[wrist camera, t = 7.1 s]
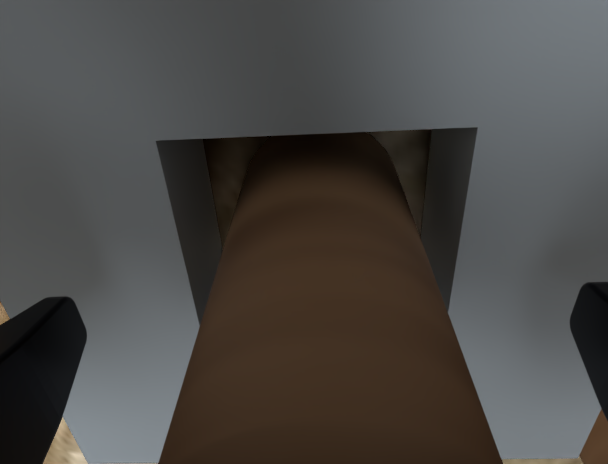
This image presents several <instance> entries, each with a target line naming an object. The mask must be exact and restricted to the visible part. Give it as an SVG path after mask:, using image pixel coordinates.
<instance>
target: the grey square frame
mask: <svg viewBox="0 0 608 464" xmlns="http://www.w3.org/2000/svg"><path fill="white" fill-rule="evenodd" d="M422 129H432V132H431V142H430V151H429V161H428V170H427V180H426V189H425V199H424V209H423V218H422V228H421V237H420V238H421V241H422V243H423V246H424V249H425V252H426V254H427V257H428V260H429V263H430V265H431V268H432V271H433V274H434V276H435V279H436V282H437V284H438V287H439V290H440V293H441V295H442V298H443V301H444V304H445V306H446V309H447V312H448V315H449V317H450V320H451V323H452V326H453V328H454V331H455V334H456V336H457V339H458V342H459V345H460V347H461V350H462V353H463V356H464V358H465V361H466V364H467V367H468V369H469V372H470V375H471V378H472V380H473V383H474V386H475V388H476V391H477V394H478V397H479V399H480V402H481V405H482V408H483V410H484V413H485V416H486V419H487V421H488V424H489V427H490V430H491V432H492V435H493V438H494V440H495V443H496V446H497V449H498V451H499V454H500V457H501V459H558V458H578V457H579V455H580V453H581V451H582V448H583V446H584V444H585V442H586V440H587V438H588V436H589V434H590V432H591V430H592V428H593V425H594V423H595V421H596V419H597V417H598V415H599V413H600V411H601V406H600V404H599V402H598V399H597V397H596V394H595V392H594V389H593V387H592V384H591V382H590V379H589V376H588V374H587V371H586V369H585V366H584V364H583V361H582V359H581V356H580V353H579V351H578V348H577V346H576V343H575V341H574V338H573V336H572V333H571V330H570V316H571V313H572V310H573V307H574V305H575V302H576V299H577V296H578V293H579V290H580V288H581V286H582V285H583V284H585V283H587V282H608V0H0V301H1V303H2V305H3V306H4V308H5V310H6V312H7V314H8V316H9V318H10V319H11V318H13V317H14V316H16V315H18V314H19V313H21V312H23V311H24V310H26V309H28V308H29V307H31V306H32V305H34V304H36V303H37V302H39V301H41V300H42V299H44V298H47V297H57V296H68V297H71V298H72V299H73V300H74V302H75V303H76V306H77V308H78V310H79V313H80V315H81V318H82V320H83V322H84V325H85V327H86V330H87V341H86V345H85V348H84V351H83V354H82V357H81V361H80V364H79V367H78V370H77V373H76V376H75V380H74V383H73V386H72V389H71V392H70V395H69V399H68V402H67V405H66V408H65V411H64V414H63V418H64V420H65V422H66V423H67V425H68V427H69V429H70V431H71V433H72V435H73V436H74V438H75V440H76V442H77V444H78V446H79V448H80V449H81V451H82V453H83V455H84V457H85V459H86V461H87V462H88V464H102V463H159V460H160V456H161V453H162V450H163V446H164V443H165V440H166V436H167V433H168V430H169V426H170V423H171V420H172V417H173V413H174V410H175V407H176V403H177V400H178V397H179V393H180V390H181V387H182V384H183V380H184V377H185V374H186V370H187V367H188V364H189V360H190V357H191V354H192V350H193V347H194V344H195V341H196V337H197V334H198V331H199V327H200V324H201V321H202V317H203V314H204V311H205V308H206V304H207V301H208V298H209V294H210V291H211V288H212V284H213V281H214V278H215V275H216V271H217V268H218V265H219V261H220V258H221V255H222V251H223V250H222V244H221V239H220V233H219V228H218V222H217V216H216V211H215V205H214V200H213V194H212V188H211V183H210V177H209V172H208V166H207V160H206V155H205V149H204V144H203V139H208V138H232V137H255V136H279V135H303V134H327V133H351V132H374V131H398V130H422Z"/></svg>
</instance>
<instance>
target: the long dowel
mask: <svg viewBox="0 0 608 464" xmlns="http://www.w3.org/2000/svg"><path fill="white" fill-rule="evenodd" d="M158 464H503V462H502V460H501V457H500V454H499V451H498V449H497V446H496V443H495V440H494V438H493V435H492V432H491V430H490V427H489V424H488V421H487V419H486V416H485V413H484V410H483V408H482V405H481V402H480V399H479V397H478V394H477V391H476V388H475V386H474V383H473V380H472V378H471V375H470V372H469V369H468V367H467V364H466V361H465V358H464V356H463V353H462V350H461V347H460V345H459V342H458V339H457V336H456V334H455V331H454V328H453V326H452V323H451V320H450V317H449V315H448V312H447V309H446V306H445V304H444V301H443V298H442V295H441V293H440V290H439V287H438V284H437V282H436V279H435V276H434V274H433V271H432V268H431V265H430V263H429V260H428V257H427V254H426V252H425V249H424V246H423V243H422V241H421V238H420V235H419V232H418V230H417V227H416V224H415V222H414V219H413V216H412V213H411V211H410V208H409V205H408V202H407V200H406V197H405V194H404V191H403V189H402V186H401V183H400V180H399V178H398V175H397V172H396V170H395V167H394V164H393V162H392V160H391V158H390V156H389V155H388V153H387V152H386V151H385V149H384V148H383V147H382V146H381V145H380V144H379V142H378V141H376V140H375V139H374V138H373V137H372V136H370V135H369V134H367V133H366V132H351V133H327V134H303V135H279V136H272V137H271V138H269V139H268V140H267V141H266V142H265V143H264V144H263V145H262V146H261V147H260V148H259V150H258V151H257V152H256V153H255V155H254V157H253V158H252V160H251V162H250V164H249V167H248V169H247V172H246V175H245V179H244V182H243V185H242V189H241V192H240V195H239V199H238V202H237V205H236V208H235V212H234V215H233V218H232V222H231V225H230V228H229V232H228V235H227V238H226V241H225V245H224V248H223V251H222V255H221V258H220V261H219V265H218V268H217V271H216V275H215V278H214V281H213V284H212V288H211V291H210V294H209V298H208V301H207V304H206V308H205V311H204V314H203V317H202V321H201V324H200V327H199V331H198V334H197V337H196V341H195V344H194V347H193V350H192V354H191V357H190V360H189V364H188V367H187V370H186V374H185V377H184V380H183V384H182V387H181V390H180V393H179V397H178V400H177V403H176V407H175V410H174V413H173V417H172V420H171V423H170V426H169V430H168V433H167V436H166V440H165V443H164V446H163V450H162V453H161V456H160V460H159V463H158Z"/></svg>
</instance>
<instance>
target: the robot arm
mask: <svg viewBox="0 0 608 464" xmlns="http://www.w3.org/2000/svg"><path fill="white" fill-rule="evenodd" d="M570 330H571V333H572V336H573V338H574V341H575V343H576V346H577V348H578V351H579V353H580V356H581V359H582V361H583V364H584V366H585V369H586V371H587V374H588V376H589V379H590V382H591V384H592V387H593V389H594V392H595V394H596V397H597V399H598V402H599V404H600V406H601V409H602V411H603V413H604V415H605V417H606V419H607V421H608V282H587V283H585V284H583V285H582V286H581V288H580V290H579V293H578V296H577V299H576V302H575V305H574V307H573V310H572V313H571V316H570ZM86 341H87V330H86V327H85V325H84V322H83V320H82V318H81V315H80V313H79V310H78V308H77V306H76V303H75V302H74V300H73V299H72V298H71V297H68V296H57V297H47V298H44V299H42V300H41V301H39V302H37V303H36V304H34V305H32V306H31V307H29V308H28V309H26V310H24V311H23V312H21V313H19V314H18V315H16V316H14V317H13V318H11V319H9V320H8V321H6V322H5V323H3V324H1V325H0V464H43V462H44V459H45V457H46V455H47V453H48V450H49V448H50V446H51V443H52V441H53V439H54V436H55V434H56V432H57V429H58V427H59V424H60V422H61V419H62V417H63V414H64V411H65V408H66V405H67V402H68V399H69V395H70V392H71V389H72V386H73V383H74V380H75V376H76V373H77V370H78V367H79V364H80V361H81V357H82V354H83V351H84V348H85V345H86Z"/></svg>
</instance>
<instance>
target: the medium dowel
mask: <svg viewBox="0 0 608 464" xmlns="http://www.w3.org/2000/svg"><path fill="white" fill-rule="evenodd" d="M579 456H580V458H581V459H582V461H583V463H584V464H608V421H607V419H606V417H605V415H604V413H603V411H602V409H601V411H600V413H599V415H598V417H597V419H596V421H595V423H594V425H593V428H592V430H591V432H590V434H589V436H588V438H587V440H586V442H585V444H584V446H583V448H582V451H581V453H580V455H579Z"/></svg>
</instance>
